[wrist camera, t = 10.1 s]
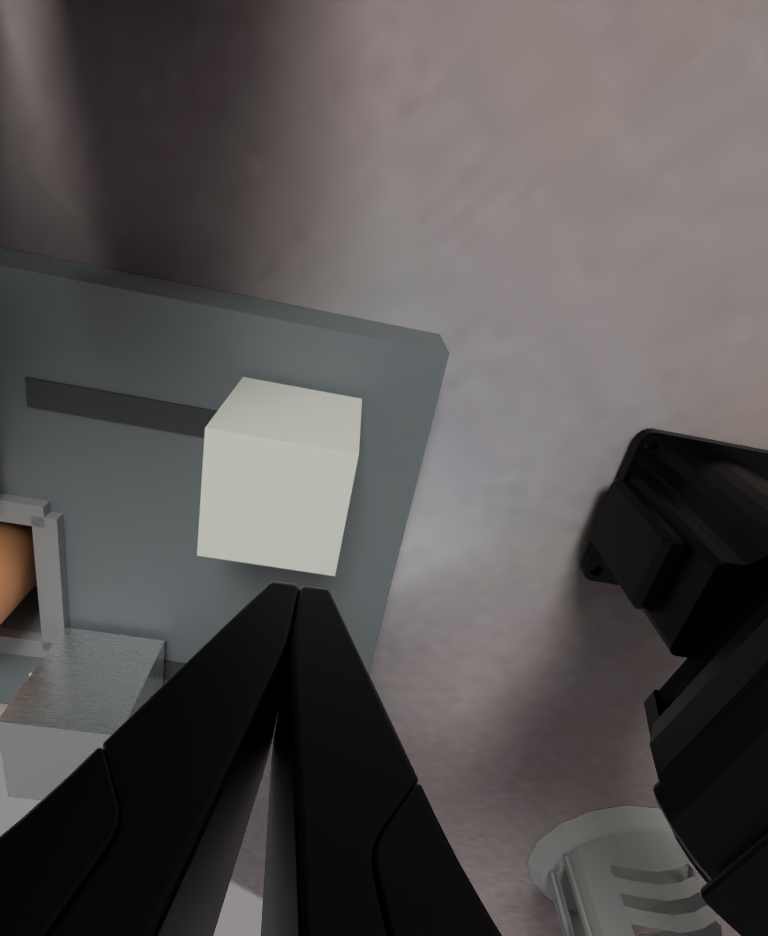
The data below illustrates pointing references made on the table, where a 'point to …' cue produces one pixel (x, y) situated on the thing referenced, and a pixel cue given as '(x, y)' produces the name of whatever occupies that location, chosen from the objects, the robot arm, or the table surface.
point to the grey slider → (75, 705)
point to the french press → (620, 876)
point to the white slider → (279, 476)
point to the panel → (179, 450)
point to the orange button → (15, 566)
